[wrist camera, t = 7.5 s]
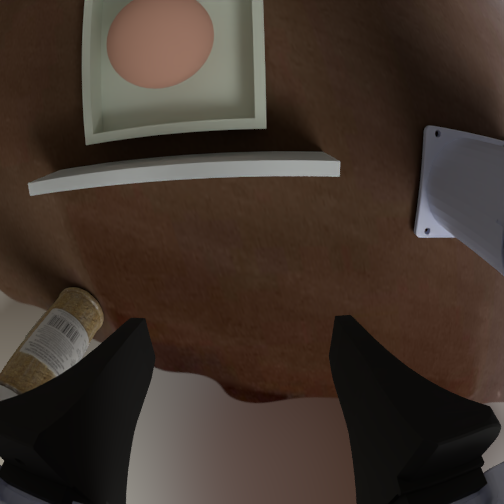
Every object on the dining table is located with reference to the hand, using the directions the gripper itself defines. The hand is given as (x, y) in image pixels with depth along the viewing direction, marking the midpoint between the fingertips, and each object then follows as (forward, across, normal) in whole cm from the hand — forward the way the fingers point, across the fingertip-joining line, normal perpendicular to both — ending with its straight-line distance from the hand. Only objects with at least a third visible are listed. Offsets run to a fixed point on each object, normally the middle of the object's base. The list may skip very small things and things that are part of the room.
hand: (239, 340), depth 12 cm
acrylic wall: (+10, +4, -5) cm, 12 cm away
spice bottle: (+11, +14, +6) cm, 19 cm away
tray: (+10, +4, -12) cm, 17 cm away
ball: (+7, +4, -12) cm, 15 cm away
